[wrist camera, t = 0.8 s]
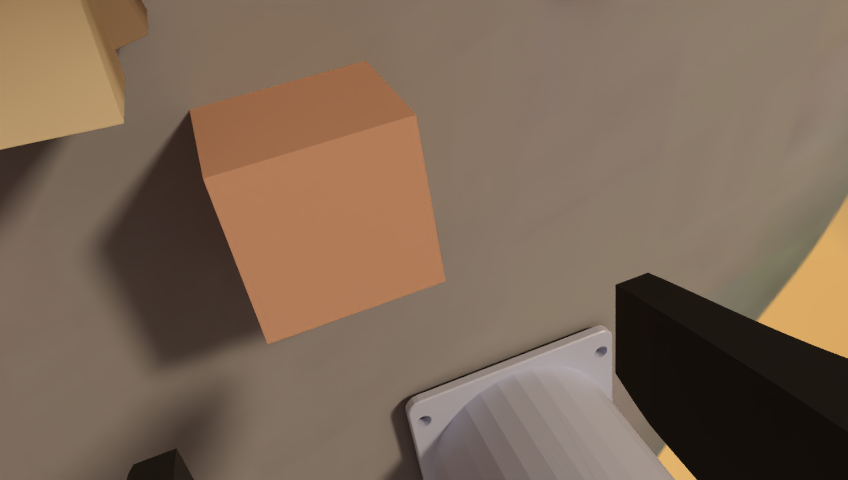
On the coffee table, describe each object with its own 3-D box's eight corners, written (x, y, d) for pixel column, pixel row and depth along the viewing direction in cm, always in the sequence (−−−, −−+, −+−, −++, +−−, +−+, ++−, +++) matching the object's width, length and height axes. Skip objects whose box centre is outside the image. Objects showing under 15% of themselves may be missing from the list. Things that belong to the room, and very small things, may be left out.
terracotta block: (395, 206, 20) (445, 281, 17) (245, 256, 19) (268, 344, 16) (364, 59, 18) (415, 114, 15) (189, 109, 17) (203, 179, 14)
